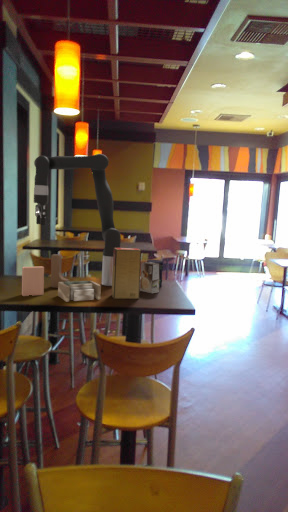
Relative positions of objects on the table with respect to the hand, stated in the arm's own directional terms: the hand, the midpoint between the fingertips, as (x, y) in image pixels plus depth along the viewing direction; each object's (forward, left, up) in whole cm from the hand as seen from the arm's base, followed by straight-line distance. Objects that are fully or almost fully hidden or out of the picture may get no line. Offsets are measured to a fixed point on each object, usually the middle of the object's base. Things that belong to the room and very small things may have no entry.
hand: (40, 224), depth 213 cm
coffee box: (-54, +28, -34) cm, 70 cm away
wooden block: (-10, +5, -34) cm, 36 cm away
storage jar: (-65, +14, -34) cm, 75 cm away
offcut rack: (-12, +31, -34) cm, 47 cm away
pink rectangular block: (+8, +19, -34) cm, 40 cm away
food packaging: (-35, +36, -34) cm, 61 cm away
